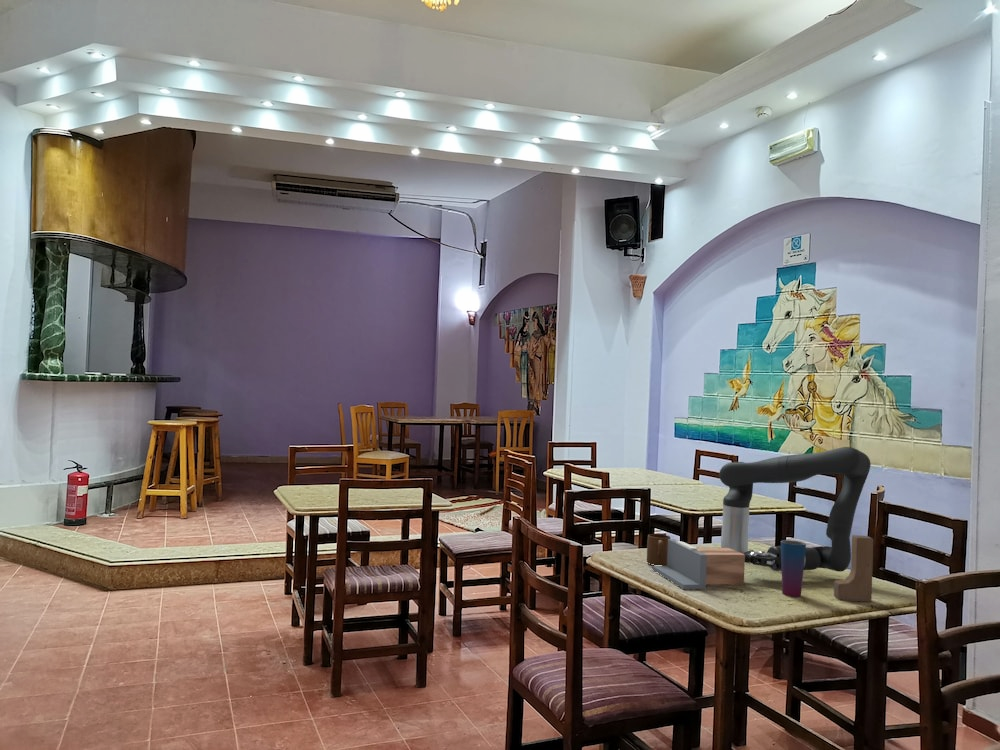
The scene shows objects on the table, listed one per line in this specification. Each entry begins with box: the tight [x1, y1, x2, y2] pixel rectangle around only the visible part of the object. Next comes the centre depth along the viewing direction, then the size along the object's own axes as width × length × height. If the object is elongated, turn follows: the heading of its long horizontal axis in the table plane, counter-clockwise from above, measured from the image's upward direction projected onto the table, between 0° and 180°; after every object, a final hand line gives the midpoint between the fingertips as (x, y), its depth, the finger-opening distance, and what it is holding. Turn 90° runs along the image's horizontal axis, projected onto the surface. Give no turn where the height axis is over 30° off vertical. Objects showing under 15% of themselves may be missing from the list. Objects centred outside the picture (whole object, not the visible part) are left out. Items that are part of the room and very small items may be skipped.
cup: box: [780, 539, 807, 598], centre depth 210 cm, size 7×7×15 cm
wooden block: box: [833, 534, 874, 603], centre depth 208 cm, size 9×4×18 cm, turn 82°
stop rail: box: [651, 538, 707, 590], centre depth 221 cm, size 23×7×11 cm, turn 11°
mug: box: [646, 533, 671, 566], centre depth 239 cm, size 12×8×9 cm, turn 173°
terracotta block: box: [696, 547, 746, 585], centre depth 223 cm, size 10×15×9 cm, turn 101°
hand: (735, 558), depth 225 cm, fingers closed
